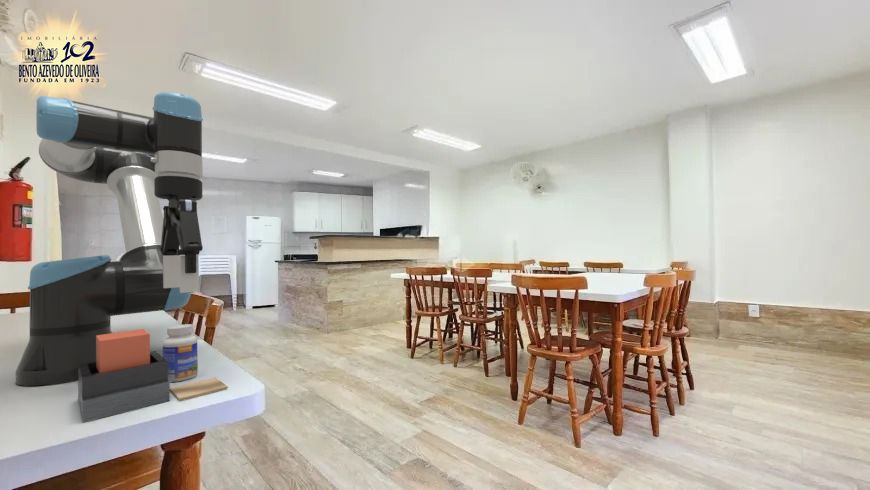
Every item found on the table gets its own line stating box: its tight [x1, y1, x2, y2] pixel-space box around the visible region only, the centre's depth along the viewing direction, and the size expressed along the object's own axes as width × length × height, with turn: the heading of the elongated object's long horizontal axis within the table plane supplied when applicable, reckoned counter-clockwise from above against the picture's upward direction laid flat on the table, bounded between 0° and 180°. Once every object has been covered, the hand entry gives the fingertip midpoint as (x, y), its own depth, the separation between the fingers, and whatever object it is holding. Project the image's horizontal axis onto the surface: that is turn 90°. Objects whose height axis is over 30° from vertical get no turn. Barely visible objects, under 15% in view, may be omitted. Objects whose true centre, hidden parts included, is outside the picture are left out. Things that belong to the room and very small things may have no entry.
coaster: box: [170, 377, 229, 402], centre depth 63 cm, size 7×7×1 cm
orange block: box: [96, 328, 151, 373], centre depth 59 cm, size 6×6×5 cm
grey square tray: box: [77, 350, 171, 423], centre depth 59 cm, size 12×10×6 cm
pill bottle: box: [162, 323, 199, 383], centre depth 70 cm, size 5×5×10 cm
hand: (180, 289), depth 70 cm, fingers open, 13 cm apart
